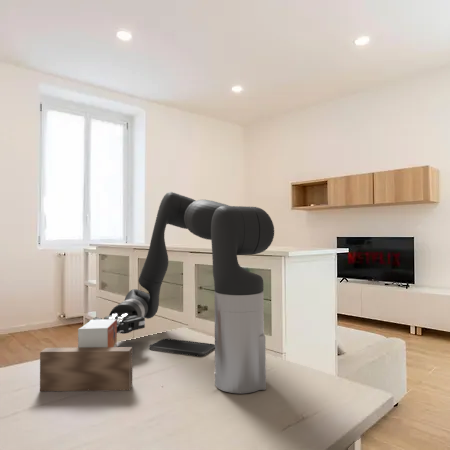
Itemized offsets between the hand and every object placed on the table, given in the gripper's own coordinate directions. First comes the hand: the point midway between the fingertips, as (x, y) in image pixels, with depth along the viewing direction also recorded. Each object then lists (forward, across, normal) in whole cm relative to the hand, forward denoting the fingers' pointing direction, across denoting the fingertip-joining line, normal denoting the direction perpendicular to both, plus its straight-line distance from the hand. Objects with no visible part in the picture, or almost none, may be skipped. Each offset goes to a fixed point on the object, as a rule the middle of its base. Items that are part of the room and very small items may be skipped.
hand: (108, 332), depth 80 cm
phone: (-11, +15, +7) cm, 20 cm away
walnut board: (+12, 0, +7) cm, 14 cm away
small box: (+7, 0, +7) cm, 10 cm away
